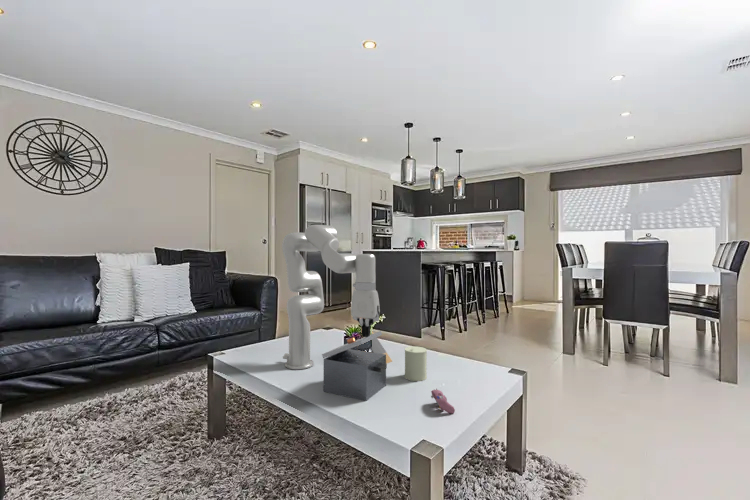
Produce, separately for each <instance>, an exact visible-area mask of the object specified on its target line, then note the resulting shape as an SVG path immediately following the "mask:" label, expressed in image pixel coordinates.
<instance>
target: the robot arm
mask: <svg viewBox="0 0 750 500" xmlns="http://www.w3.org/2000/svg"><path fill="white" fill-rule="evenodd" d="M339 246H340V241H339V239H338V232H337V230H336V227H334V226H332V225H329V224H328V225H326V224H310V225H309V226H307V227H306V228H305V230H304V232H299V231H298V232H297V231H295V232H291V233H290V232H289V233H288V234H286V235H285V236H284V237H283V240H282V245H281V247H282V248H281V249H282V253H283V257H284V260H285V265H286V275H287V276H286V277H287V278H286V279H287V285H288V290H289V291H290V292H291V293H304V292H308V294H300V295H299V294H298V295H293V296H291V297H290V298H289V299H288V300H287V302H286V311H287V312H286V313H287V316H288V353H284V355H283V356H282V359H284V360H286V362H285V363H284V365H285V367H286V368H287V369H289V370H305V369H309V368H311V367H313V366H314V364H315V363H314V360H313V359H311V324H310V321H309V320H308V318H307V316H313V315H319V314H320V313H322V312H323V311H324V308H325V299H324V288H323V281H322V280H323V279H322V278H321V275H320V274H319V273H318V271H315V270H307V269H306V261H305V259H304V257H303V256H302V254H301V253H300V252H317V251H319V252H321V255H320V256H321V260H322V263H323V264H324V265H325V267H327V268H329V269H330V270H331V271H333V272H334V273H337V274H353V273H354V274H355V275H354V276H355V278H354V280H355V282H354V283H352V287H353V288H354V289H355V290H353V292H352V296H351V303H350V304H351V307H350V308H351V309H350V315H351V317H352V319H353V320H354V321H357V322H358V323H359V325H360V328H361V333H362V337H368V336H370V328H371V326H372V324H374V323H375V322H376V323H377V322H379V321H380V313H381V309H380V306H381V305H380V299H379V293H378V290H376V288H377V285H376V278H377V277H376V275H377V274H376V256H375V255H374V254H372V253H349V252H348V253H346V252H345V253H340V252H338V249H339Z"/></svg>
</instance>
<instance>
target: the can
mask: <svg viewBox="0 0 750 500" xmlns="http://www.w3.org/2000/svg"><path fill="white" fill-rule="evenodd" d="M427 352H428V350H427V348H425V347H423V346H406V347H405V348H404V377H403V378H404V379H405V380H408V381H411V382H422V381H425V380H427V378H428V376H427V373H428V372H427V363H428V362H427V356H428V355H427V354H428V353H427Z"/></svg>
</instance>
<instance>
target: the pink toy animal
mask: <svg viewBox="0 0 750 500" xmlns="http://www.w3.org/2000/svg"><path fill="white" fill-rule="evenodd" d="M430 392H431V395H430V397H431V399H434V401H436V405H438V408H439V410H441V411H444V412H446V413H448V414H451V415H452V414H455V411H456V409H455V407H454V406H453V405H452V404H451V403H449V402H448V399H447V397H446V396H445V395H444V393H443V391H442V390H440V389H438V388H436V389H434V388H433V390H430Z"/></svg>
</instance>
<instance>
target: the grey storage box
mask: <svg viewBox="0 0 750 500" xmlns="http://www.w3.org/2000/svg"><path fill="white" fill-rule="evenodd" d="M387 365H388V363H387V364H386V354H379V353H372V352H366V351H359V350H358V349H353V348H350V349H348V350H345V351H342V352H339V353H337V354H334V355H331V356H329V357H326V358H323V385H322V386H323V387H322V388H323V391H324V392H325V393H328V394H332V395H333V394H334V395H338V396H342V397H346V398H352V399H356V400H360V401H364V402H367V401H368V400H370V399H371V398H372V397H373V396H375V395H376V394H377V393H379V391H381V390H382V389H383V388H384V387H386V386H387V369H388V368H387Z"/></svg>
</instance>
